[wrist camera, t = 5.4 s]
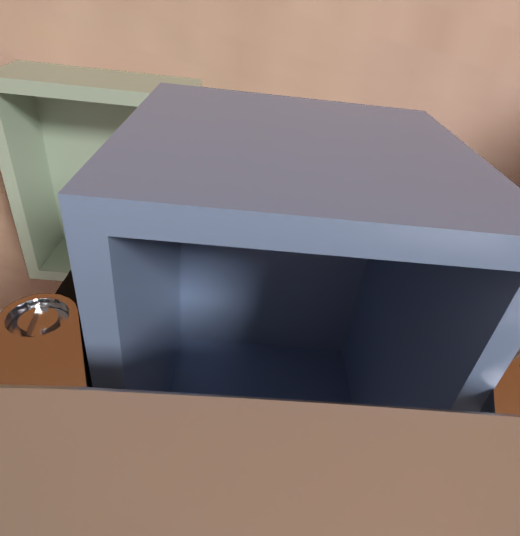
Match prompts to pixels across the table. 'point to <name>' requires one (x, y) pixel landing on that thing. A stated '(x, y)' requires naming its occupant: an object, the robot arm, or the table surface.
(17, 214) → the large crate
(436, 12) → the table surface
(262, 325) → the small crate
